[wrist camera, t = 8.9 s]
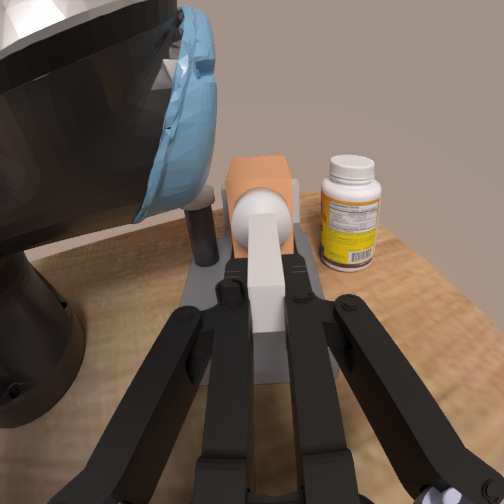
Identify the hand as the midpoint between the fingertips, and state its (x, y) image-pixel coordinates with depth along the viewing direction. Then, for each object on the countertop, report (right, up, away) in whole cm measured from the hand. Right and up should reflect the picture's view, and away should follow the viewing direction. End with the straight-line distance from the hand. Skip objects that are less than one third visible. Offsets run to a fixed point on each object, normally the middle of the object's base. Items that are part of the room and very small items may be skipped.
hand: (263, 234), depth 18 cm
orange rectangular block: (0, -2, +9) cm, 9 cm away
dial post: (-5, -2, +11) cm, 12 cm away
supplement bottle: (+9, -2, +12) cm, 15 cm away
